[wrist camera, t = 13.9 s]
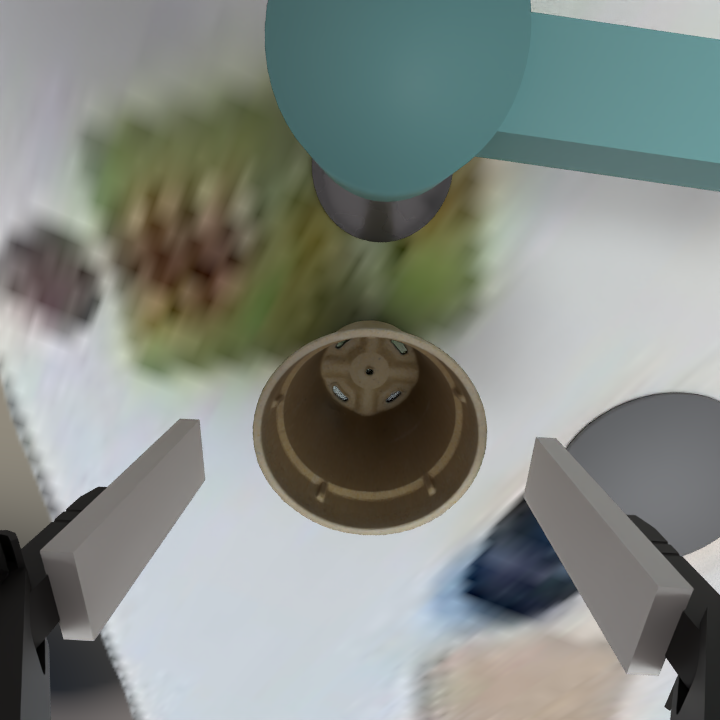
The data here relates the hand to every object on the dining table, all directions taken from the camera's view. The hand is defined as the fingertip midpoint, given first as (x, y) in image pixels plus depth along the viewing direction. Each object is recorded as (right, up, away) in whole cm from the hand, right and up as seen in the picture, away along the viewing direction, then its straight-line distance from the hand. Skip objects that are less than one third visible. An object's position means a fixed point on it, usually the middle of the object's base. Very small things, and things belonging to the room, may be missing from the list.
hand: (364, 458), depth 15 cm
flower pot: (0, +3, +9) cm, 9 cm away
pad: (+19, -4, +10) cm, 22 cm away
